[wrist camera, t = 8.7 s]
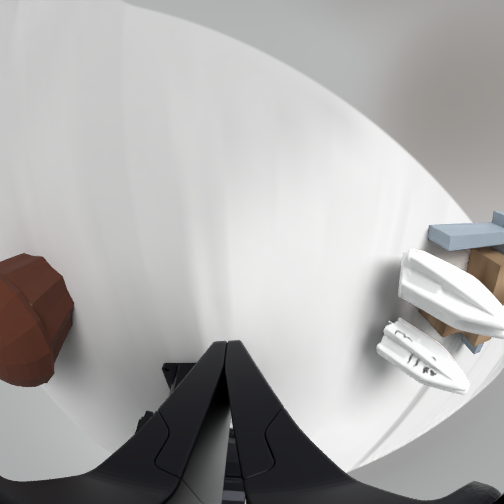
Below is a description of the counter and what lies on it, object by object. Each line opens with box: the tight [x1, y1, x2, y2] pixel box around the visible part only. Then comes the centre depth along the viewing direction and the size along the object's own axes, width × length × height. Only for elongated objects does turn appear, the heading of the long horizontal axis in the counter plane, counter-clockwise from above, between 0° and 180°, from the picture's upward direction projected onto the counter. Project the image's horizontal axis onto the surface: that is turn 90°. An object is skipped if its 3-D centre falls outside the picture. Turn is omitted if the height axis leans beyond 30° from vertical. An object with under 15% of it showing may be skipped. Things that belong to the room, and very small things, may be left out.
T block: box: [419, 246, 504, 346], centre depth 20 cm, size 9×9×4 cm
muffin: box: [0, 253, 74, 387], centre depth 16 cm, size 12×11×10 cm
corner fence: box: [428, 211, 504, 354], centre depth 21 cm, size 16×11×3 cm
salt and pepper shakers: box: [376, 248, 504, 395], centre depth 17 cm, size 12×4×11 cm, turn 6°
